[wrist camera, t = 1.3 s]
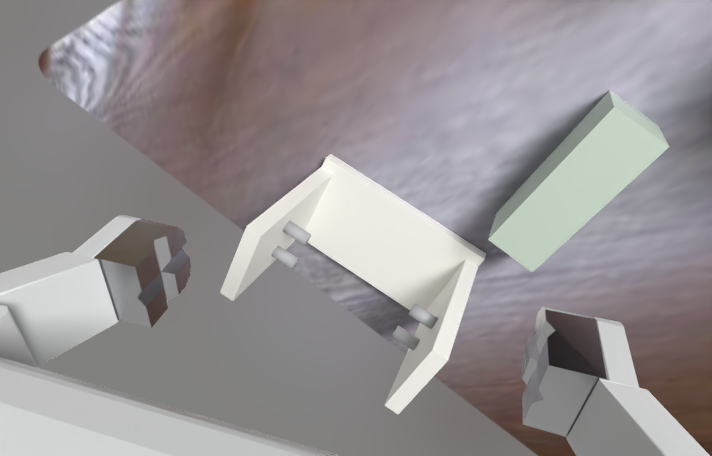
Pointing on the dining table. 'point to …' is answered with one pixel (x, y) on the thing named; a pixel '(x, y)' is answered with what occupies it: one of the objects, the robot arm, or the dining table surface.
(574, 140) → the shelf board
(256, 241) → the shelf unit
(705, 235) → the dining table surface
